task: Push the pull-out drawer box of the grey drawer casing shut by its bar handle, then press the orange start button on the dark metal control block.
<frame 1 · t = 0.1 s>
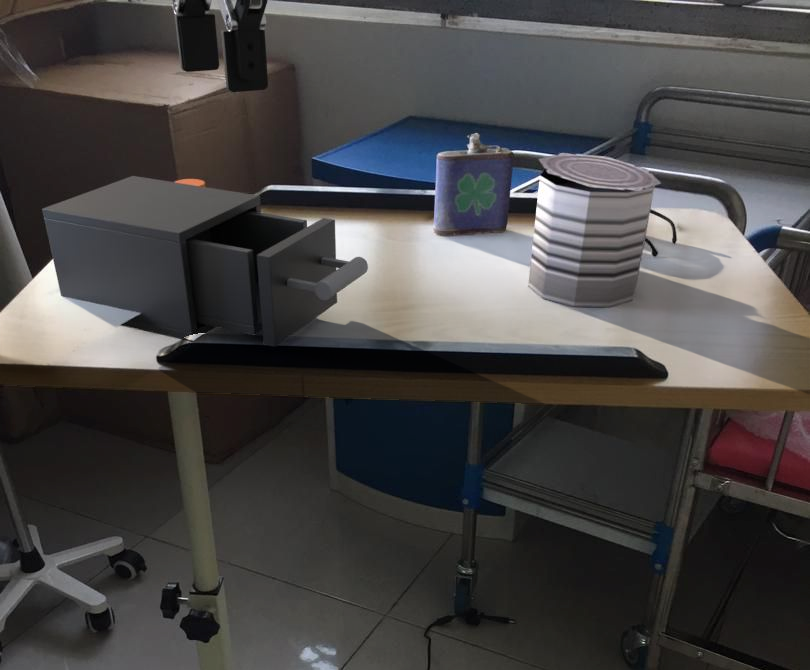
hand: (223, 79, 70), 20 cm above the table, tool pointing down, fingers open, 9 cm apart
flask: (470, 232, 106), on the table
start button: (189, 190, 102), point 4 cm above the table, slide at 0.1 cm
pull-out drawer box: (261, 273, 80), point 5 cm above the table, slide at 7.0 cm
grey drawer casing: (168, 303, 86), on the table
can: (581, 289, 92), on the table
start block: (194, 230, 104), on the table
sunglasses: (619, 242, 104), on the table
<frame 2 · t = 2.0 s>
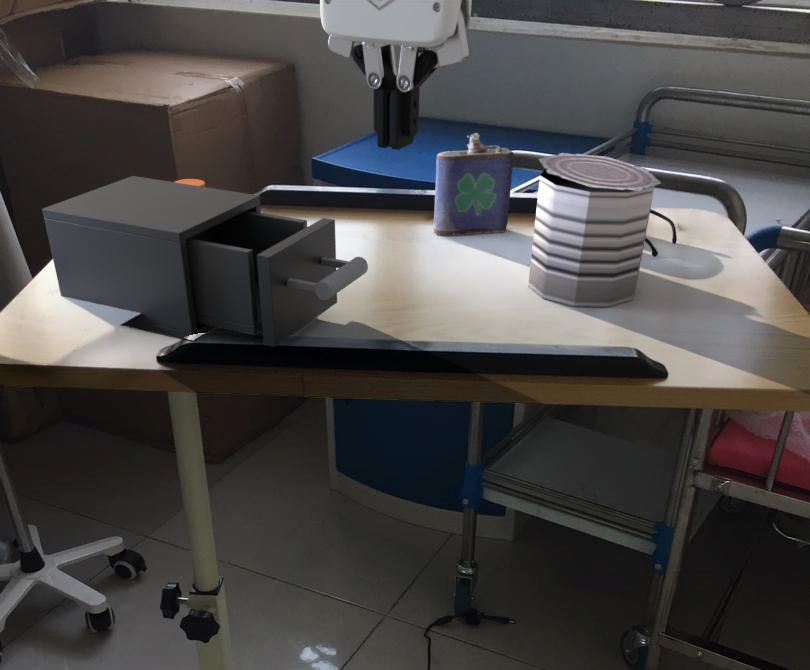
hand: (395, 144, 68), 17 cm above the table, tool pointing down, fingers closed
nothing on the table moved.
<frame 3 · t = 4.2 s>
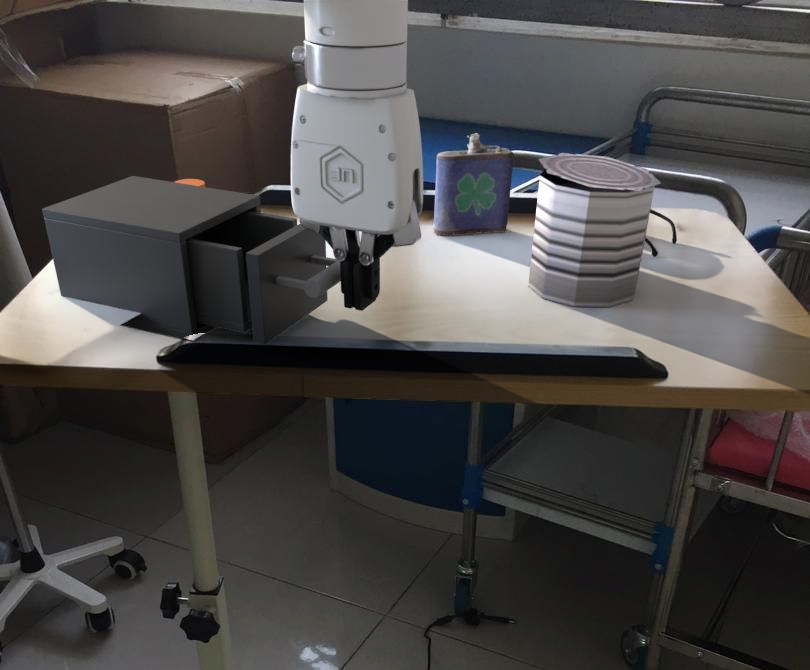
hand: (360, 303, 77), 4 cm above the table, tool pointing down, fingers closed
pull-out drawer box: (251, 271, 80), point 5 cm above the table, slide at 6.0 cm, touching gripper
everything else where it was.
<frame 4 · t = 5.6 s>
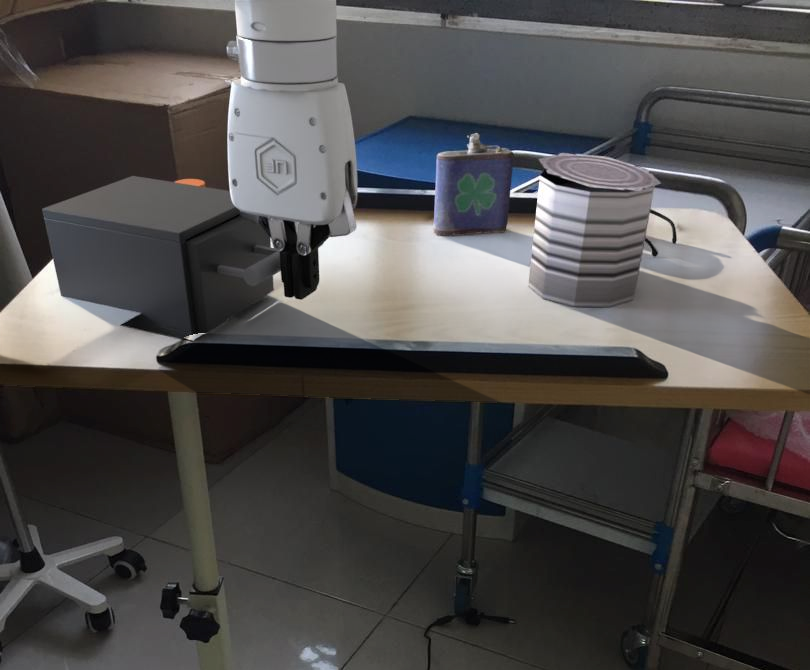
hand: (301, 293, 79), 4 cm above the table, tool pointing down, fingers closed
pull-out drawer box: (196, 261, 82), point 5 cm above the table, slide at 0.0 cm, touching grey drawer casing, gripper
everything else where it was.
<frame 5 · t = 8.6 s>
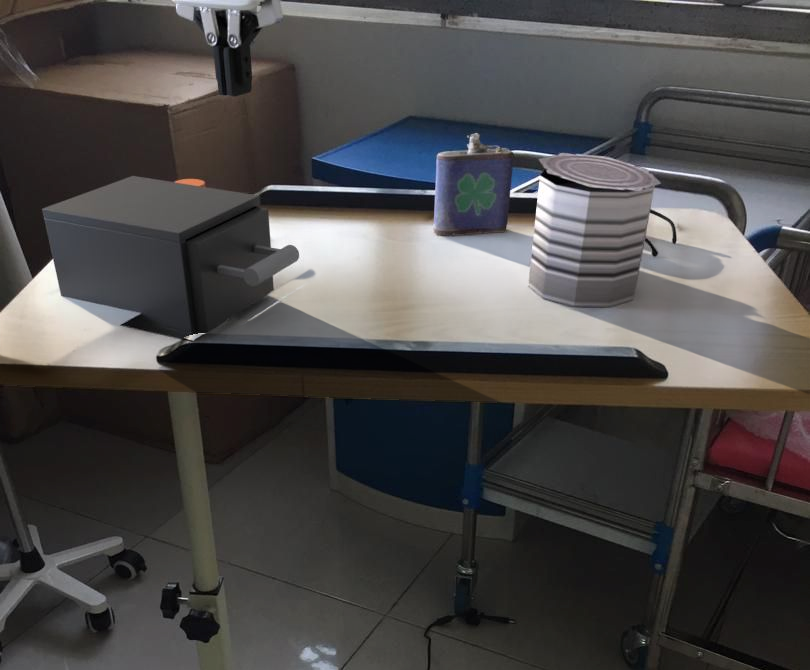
hand: (235, 93, 83), 17 cm above the table, tool pointing down, fingers closed
pull-out drawer box: (196, 261, 82), point 5 cm above the table, slide at 0.0 cm, touching grey drawer casing
everything else where it was.
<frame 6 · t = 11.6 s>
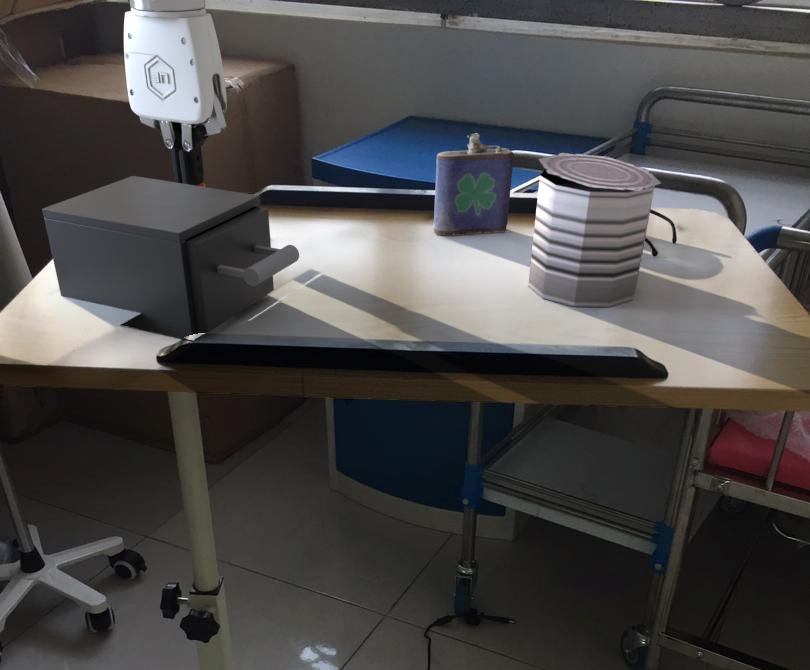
hand: (190, 184, 101), 5 cm above the table, tool pointing down, fingers closed
start button: (190, 192, 102), point 4 cm above the table, slide at -0.1 cm, touching gripper
everything else where it was.
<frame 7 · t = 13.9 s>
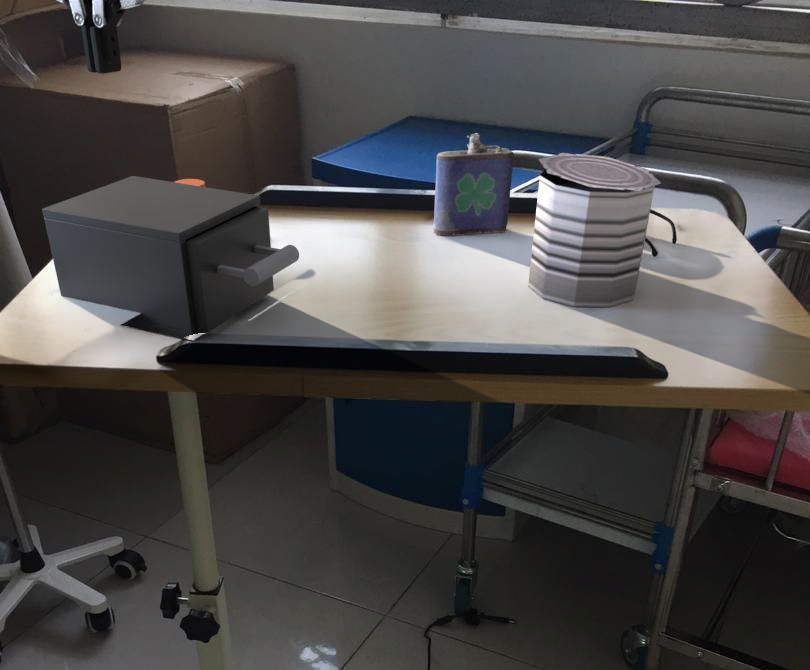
hand: (105, 71, 89), 18 cm above the table, tool pointing down, fingers closed
start button: (189, 190, 102), point 4 cm above the table, slide at 0.1 cm
everything else where it was.
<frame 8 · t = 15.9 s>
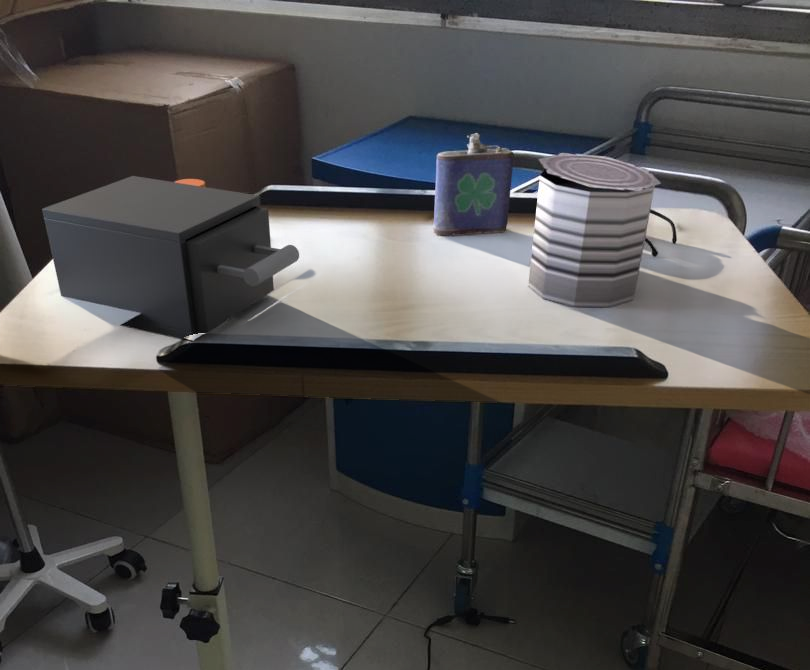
nothing on the table moved.
at the end: pull-out drawer box slide at 0.0 cm; start button pushed in 1.1 cm at the most during the clip, back to where it started at the end; start button slide at 0.1 cm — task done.
